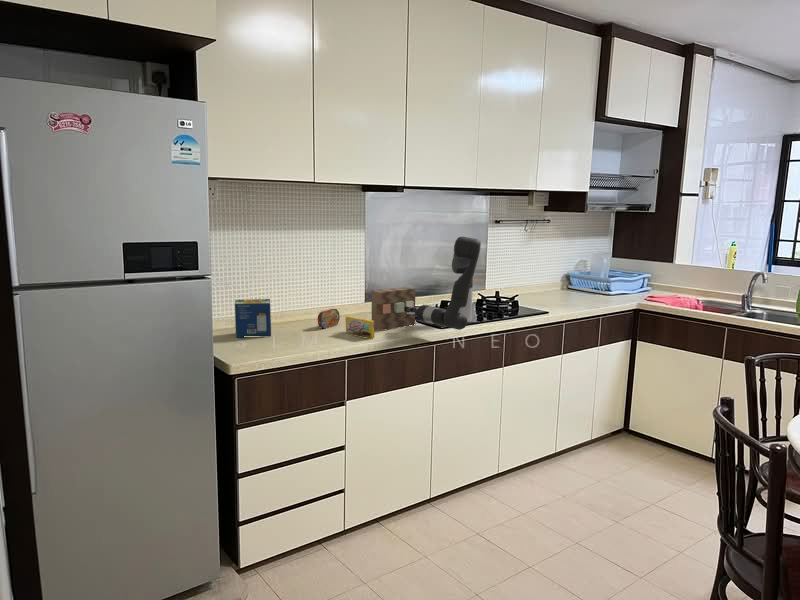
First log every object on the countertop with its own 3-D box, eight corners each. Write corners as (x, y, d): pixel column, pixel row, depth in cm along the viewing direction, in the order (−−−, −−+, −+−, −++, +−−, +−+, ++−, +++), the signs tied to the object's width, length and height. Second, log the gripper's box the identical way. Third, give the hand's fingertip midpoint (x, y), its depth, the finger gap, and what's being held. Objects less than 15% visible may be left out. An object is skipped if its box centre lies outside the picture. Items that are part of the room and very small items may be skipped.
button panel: (405, 322, 293) (406, 286, 290) (414, 325, 288) (415, 288, 285) (371, 328, 280) (371, 290, 277) (380, 330, 275) (380, 292, 272)
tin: (321, 330, 275) (321, 312, 274) (316, 329, 277) (316, 311, 275) (340, 324, 288) (340, 307, 287) (335, 323, 290) (334, 306, 288)
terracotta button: (386, 312, 279) (386, 302, 278) (390, 312, 277) (390, 303, 276) (379, 313, 277) (379, 303, 276) (383, 314, 274) (383, 304, 273)
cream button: (409, 308, 288) (409, 299, 287) (413, 309, 285) (413, 300, 285) (402, 309, 285) (402, 300, 284) (406, 310, 283) (406, 301, 282)
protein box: (236, 333, 268) (235, 299, 265) (271, 331, 271) (270, 298, 268) (235, 338, 258) (234, 303, 255) (271, 337, 261) (270, 302, 258)
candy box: (345, 334, 268) (345, 316, 267) (348, 333, 270) (348, 315, 268) (371, 339, 258) (371, 321, 256) (374, 338, 259) (374, 320, 258)
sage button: (400, 310, 282) (400, 301, 282) (404, 311, 280) (404, 302, 279) (393, 311, 280) (393, 302, 279) (397, 312, 277) (397, 303, 277)
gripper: (441, 304, 266) (416, 299, 279) (418, 307, 257) (394, 302, 271) (440, 321, 267) (416, 315, 280) (418, 324, 259) (394, 318, 272)
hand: (405, 308), depth 275 cm, fingers closed
